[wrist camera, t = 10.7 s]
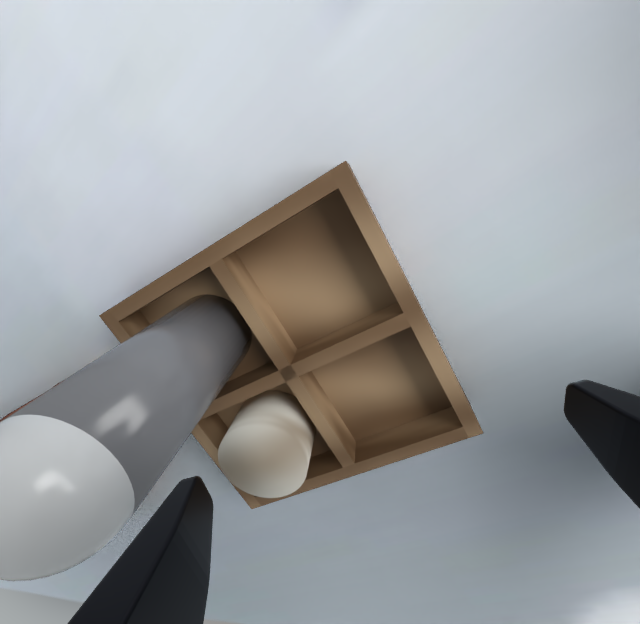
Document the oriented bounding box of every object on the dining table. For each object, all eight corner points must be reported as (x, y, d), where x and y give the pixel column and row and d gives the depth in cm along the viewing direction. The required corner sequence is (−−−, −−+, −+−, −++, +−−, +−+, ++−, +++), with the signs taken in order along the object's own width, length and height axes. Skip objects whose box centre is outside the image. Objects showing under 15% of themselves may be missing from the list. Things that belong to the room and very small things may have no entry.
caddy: (470, 405, 21) (492, 453, 17) (262, 479, 25) (244, 530, 21) (348, 163, 17) (343, 158, 13) (128, 301, 21) (77, 326, 17)
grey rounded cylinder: (267, 331, 20) (102, 575, 8) (223, 380, 22) (28, 647, 9) (202, 277, 19) (-97, 448, 7) (161, 333, 21) (-137, 551, 9)
